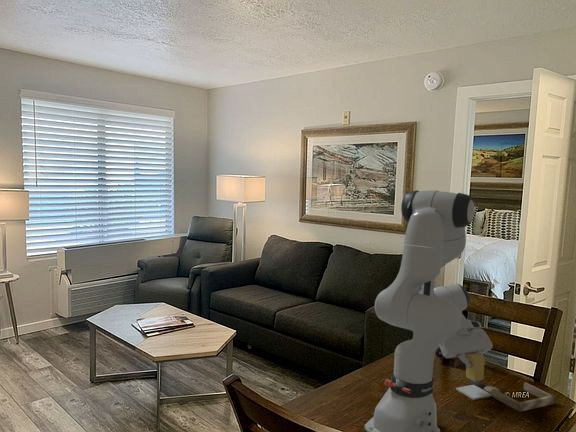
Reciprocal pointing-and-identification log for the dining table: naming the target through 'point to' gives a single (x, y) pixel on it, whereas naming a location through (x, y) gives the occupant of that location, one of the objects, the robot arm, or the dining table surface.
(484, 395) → the pad
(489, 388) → the painted circle
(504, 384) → the dining table surface
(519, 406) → the cubby
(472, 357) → the ochre block
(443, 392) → the dining table surface
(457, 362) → the pottery mug
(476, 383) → the hole disc
